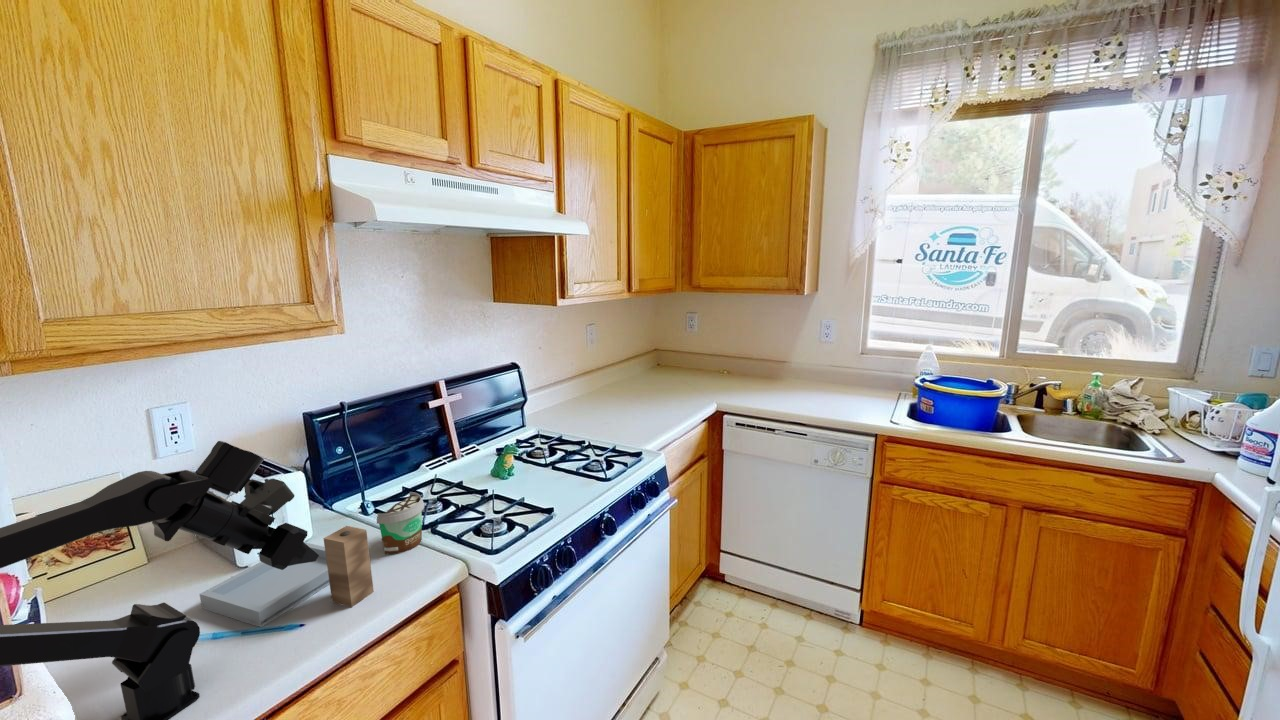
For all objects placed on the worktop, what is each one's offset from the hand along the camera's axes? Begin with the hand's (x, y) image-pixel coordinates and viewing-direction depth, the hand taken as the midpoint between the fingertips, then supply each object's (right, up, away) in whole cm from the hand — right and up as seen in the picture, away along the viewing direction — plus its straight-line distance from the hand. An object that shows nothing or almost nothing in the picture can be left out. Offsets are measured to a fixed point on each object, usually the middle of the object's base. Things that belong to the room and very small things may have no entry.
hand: (301, 551), depth 92 cm
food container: (+7, -9, +28) cm, 30 cm away
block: (+4, -12, +9) cm, 16 cm away
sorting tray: (-12, -12, +13) cm, 21 cm away
